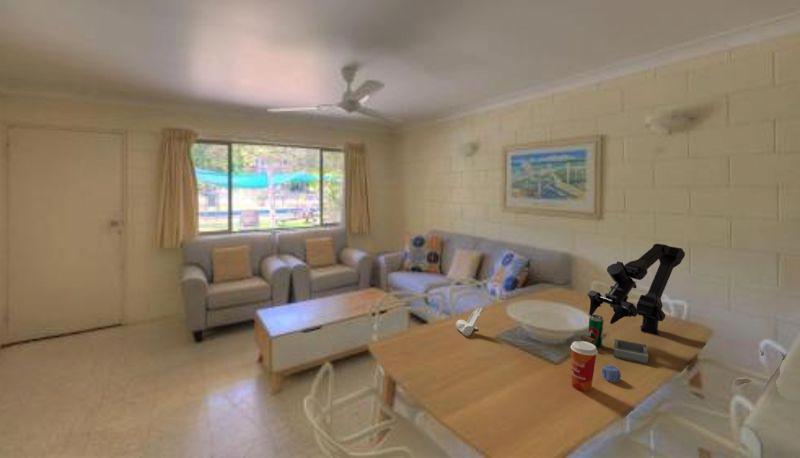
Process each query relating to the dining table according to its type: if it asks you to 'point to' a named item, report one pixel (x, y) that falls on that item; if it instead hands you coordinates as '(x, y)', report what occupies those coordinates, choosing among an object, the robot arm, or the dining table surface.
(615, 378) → the decorative dice
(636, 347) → the tray
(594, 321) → the soda can
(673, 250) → the robot arm
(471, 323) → the plastic part
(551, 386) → the dining table surface
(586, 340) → the brown rectangular block
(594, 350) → the paper cup
